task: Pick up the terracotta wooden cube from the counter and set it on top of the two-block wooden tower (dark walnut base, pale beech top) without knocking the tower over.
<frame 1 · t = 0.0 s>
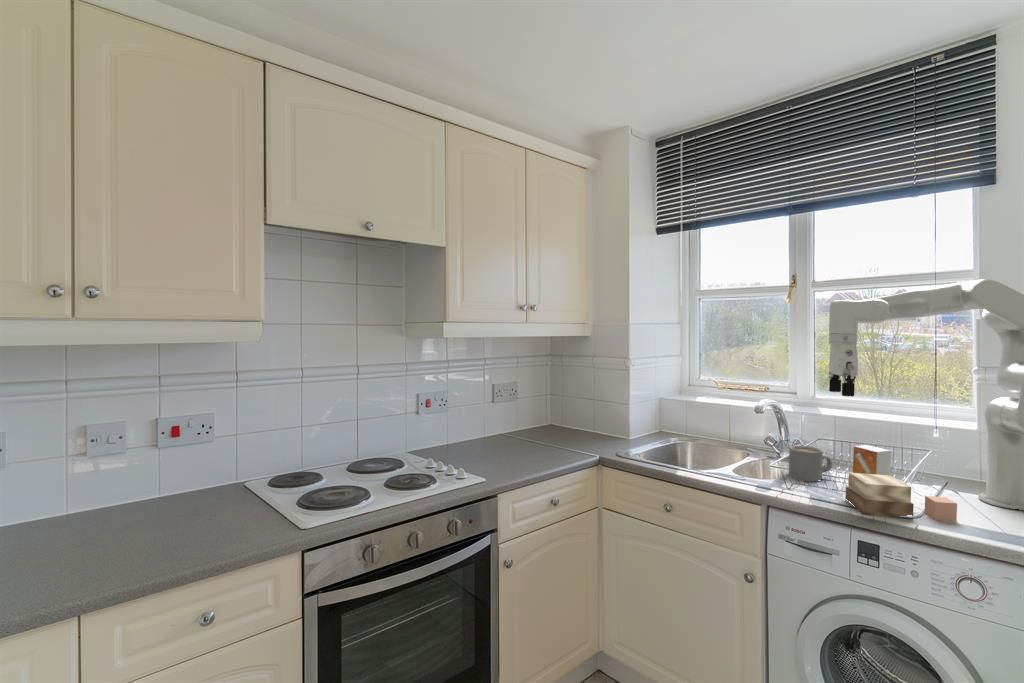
hand: (841, 393, 159), 31 cm above the worktop, tool pointing down, fingers open, 9 cm apart
tower base block: (877, 510, 146), on the worktop, touching tower top block
coffee mug: (810, 478, 175), on the worktop
small box: (870, 488, 165), on the worktop
tower top block: (878, 494, 145), point 4 cm above the worktop, touching tower base block
terracotta cube: (940, 517, 140), on the worktop
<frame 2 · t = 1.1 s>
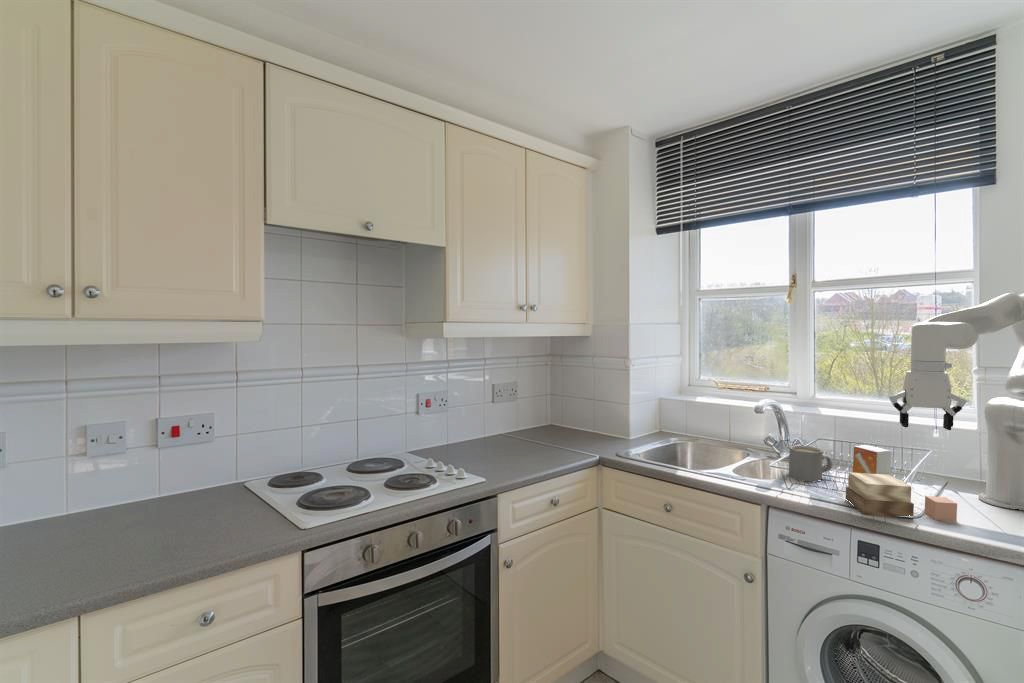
hand: (925, 427, 142), 24 cm above the worktop, tool pointing down, fingers open, 9 cm apart
nothing on the worktop moved.
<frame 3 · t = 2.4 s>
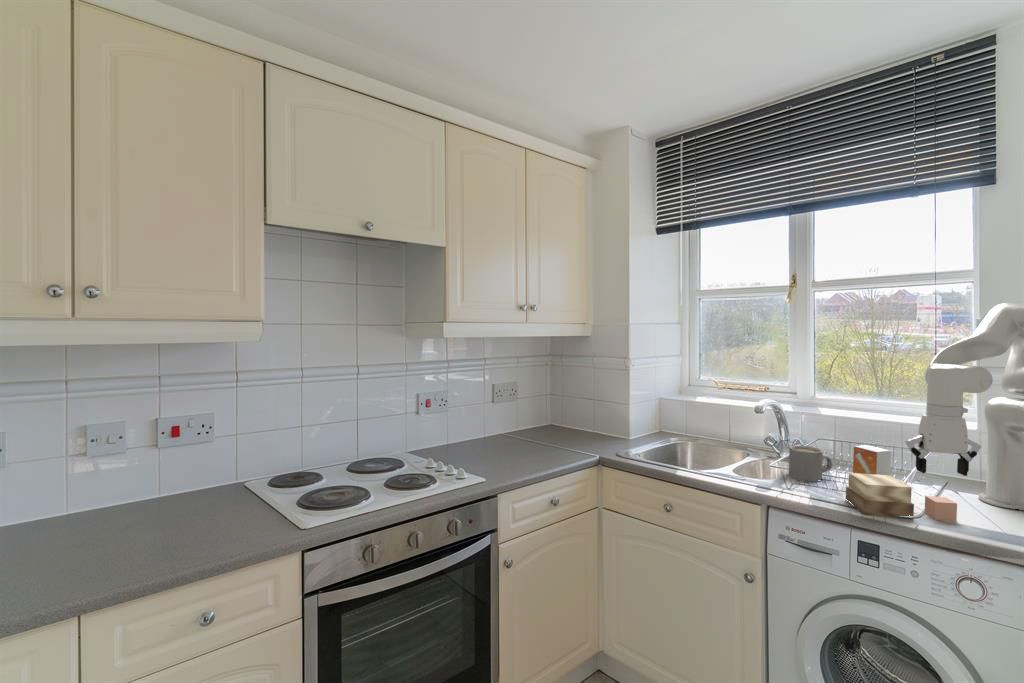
hand: (941, 473, 139), 12 cm above the worktop, tool pointing down, fingers open, 9 cm apart
nothing on the worktop moved.
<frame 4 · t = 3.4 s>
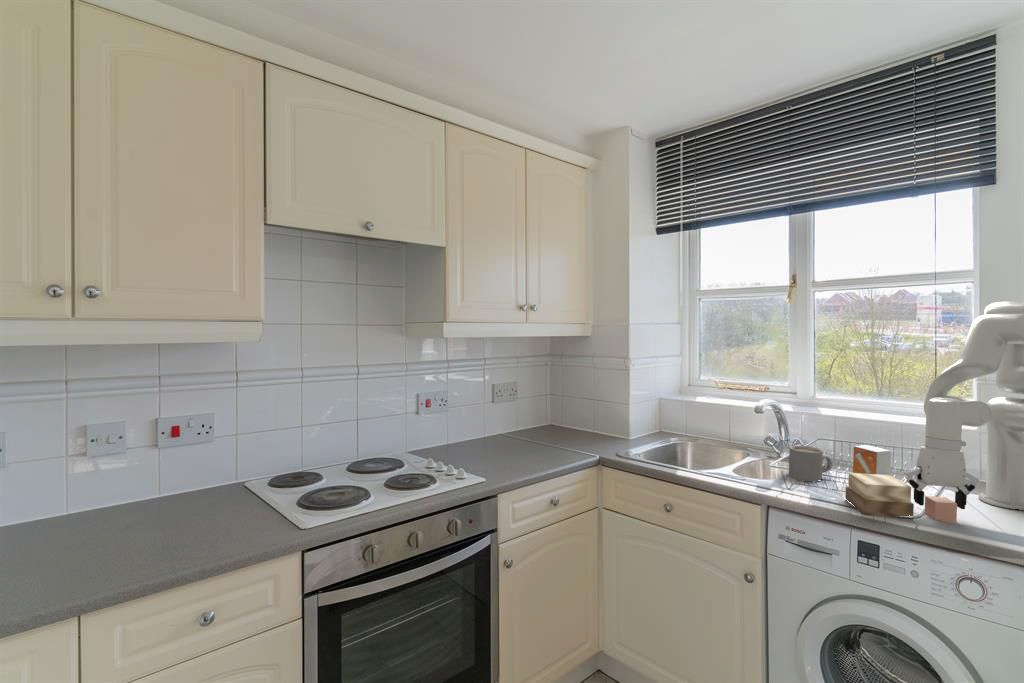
hand: (939, 505, 139), 3 cm above the worktop, tool pointing down, fingers open, 9 cm apart
nothing on the worktop moved.
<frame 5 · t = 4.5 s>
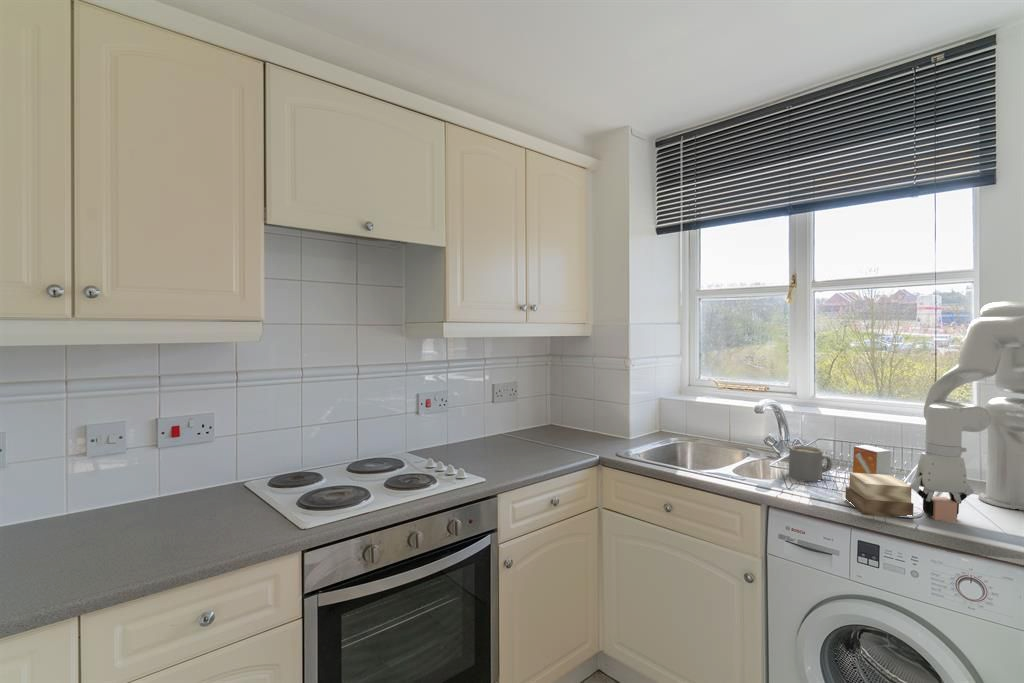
hand: (940, 514, 140), 1 cm above the worktop, tool pointing down, fingers closed on terracotta cube, 5 cm apart
tower base block: (877, 510, 146), on the worktop
tower top block: (878, 494, 145), point 4 cm above the worktop
terracotta cube: (940, 517, 140), on the worktop, touching gripper
everything else where it was.
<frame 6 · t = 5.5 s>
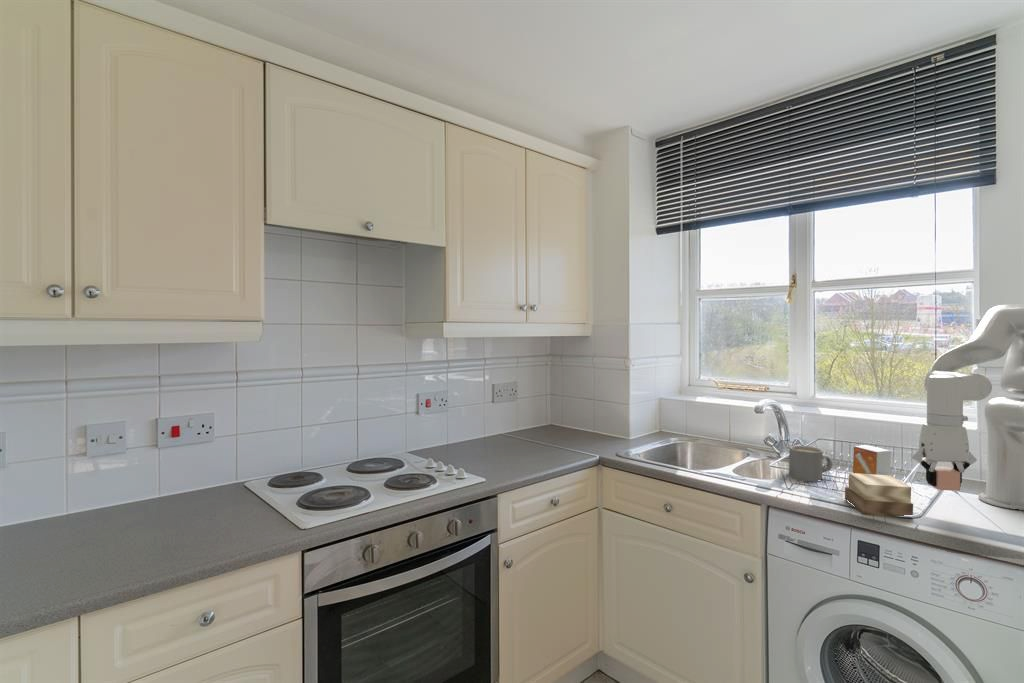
hand: (943, 484, 140), 9 cm above the worktop, tool pointing down, fingers closed on terracotta cube, 5 cm apart
tower base block: (877, 510, 146), on the worktop, touching tower top block
tower top block: (878, 495, 145), point 4 cm above the worktop, touching tower base block
terracotta cube: (943, 487, 140), point 8 cm above the worktop, touching gripper
everything else where it was.
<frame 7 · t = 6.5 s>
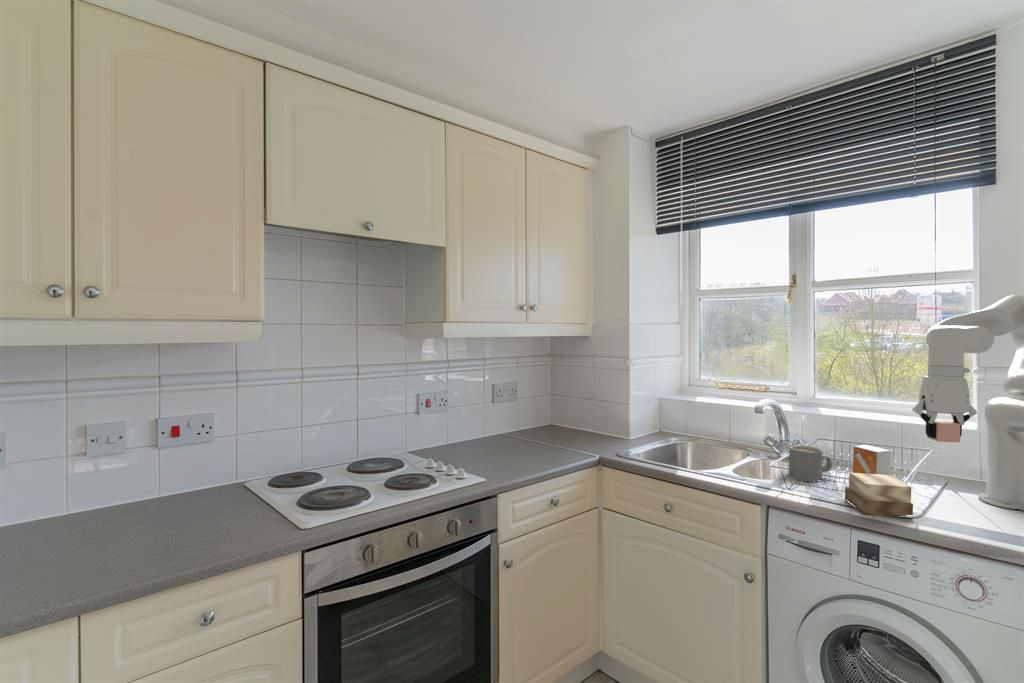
hand: (943, 437, 139), 22 cm above the worktop, tool pointing down, fingers closed on terracotta cube, 5 cm apart
tower base block: (877, 510, 146), on the worktop
tower top block: (878, 494, 146), point 4 cm above the worktop
terracotta cube: (943, 439, 139), point 21 cm above the worktop, touching gripper
everything else where it was.
when the fingers open (11 cm above the worktop, at t = 9.6 s): terracotta cube drops 2 cm, resting on tower top block.
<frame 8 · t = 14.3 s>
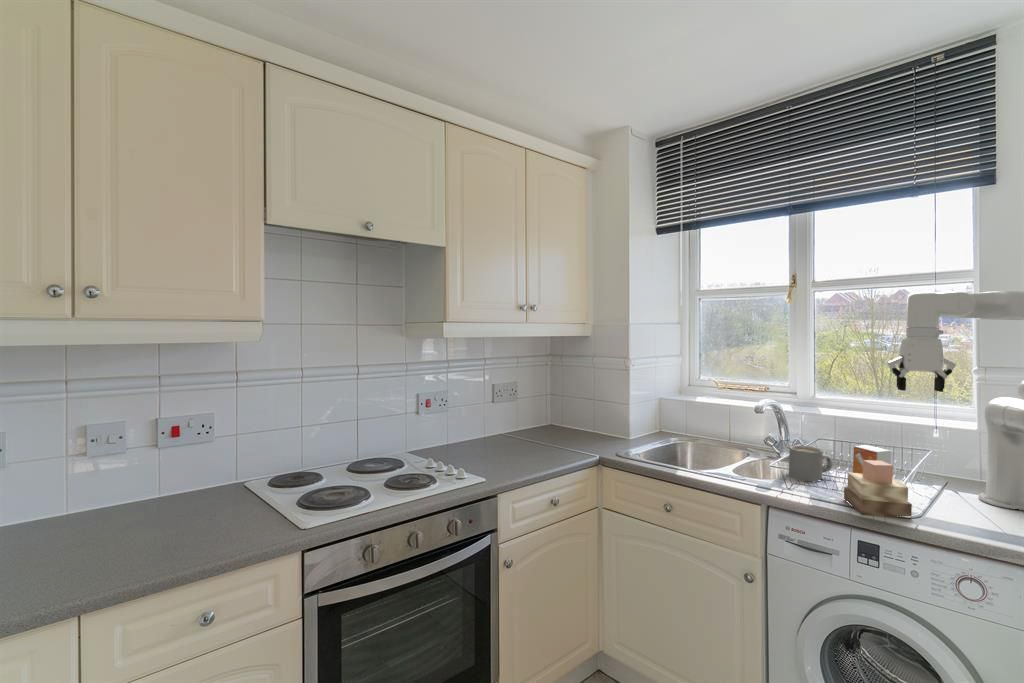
hand: (920, 390, 152), 33 cm above the worktop, tool pointing down, fingers open, 9 cm apart
tower top block: (876, 495, 145), point 4 cm above the worktop, touching terracotta cube
terracotta cube: (877, 480, 145), point 9 cm above the worktop, touching tower top block
everything else where it was.
at the end: terracotta cube 0.3 cm off-centre on the tower top block, point 4.5 cm above the tower top block's base; tower top block point 4.0 cm above the worktop; terracotta cube tilted 0° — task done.
